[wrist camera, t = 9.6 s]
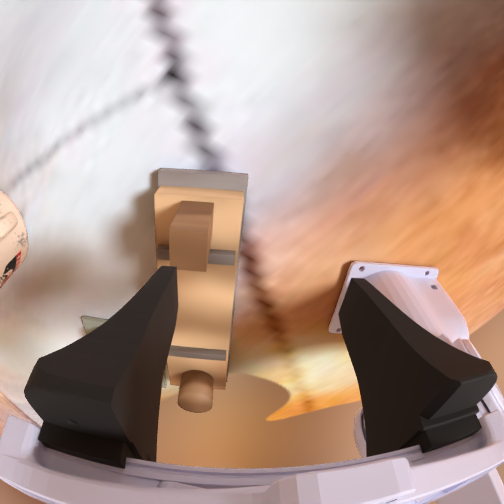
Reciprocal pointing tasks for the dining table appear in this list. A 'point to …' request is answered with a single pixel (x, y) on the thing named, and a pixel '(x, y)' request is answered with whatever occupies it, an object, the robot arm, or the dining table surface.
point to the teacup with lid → (11, 238)
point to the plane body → (200, 274)
